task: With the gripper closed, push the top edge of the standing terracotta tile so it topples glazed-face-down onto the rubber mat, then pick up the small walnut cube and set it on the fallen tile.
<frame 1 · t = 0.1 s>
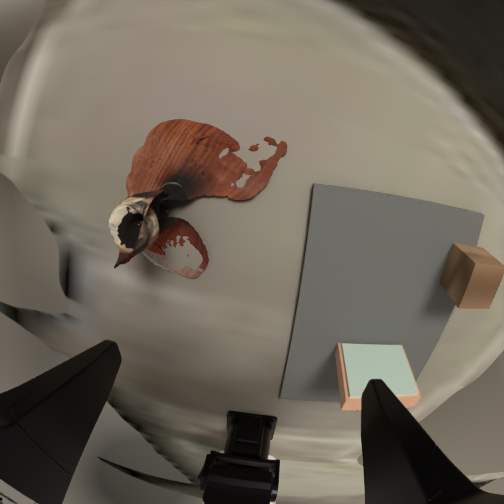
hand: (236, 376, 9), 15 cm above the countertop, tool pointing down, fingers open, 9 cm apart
mat: (377, 323, 24), on the countertop
tile: (369, 349, 25), resting on mat
figurine: (196, 198, 22), on the countertop
cube: (462, 265, 20), on the countertop, touching mat
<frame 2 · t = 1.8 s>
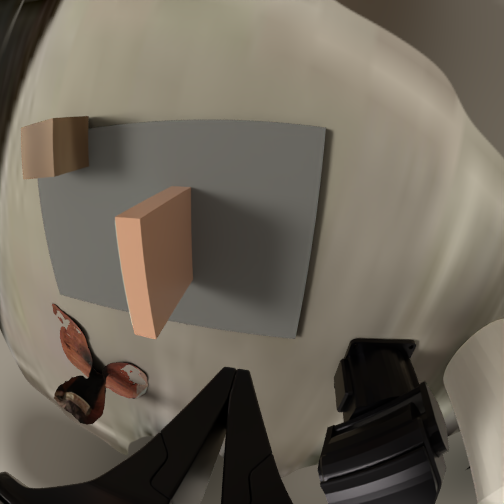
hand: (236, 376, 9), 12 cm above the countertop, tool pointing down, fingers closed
mat: (148, 229, 20), on the countertop
tile: (182, 235, 20), resting on mat
bottle: (482, 357, 22), on the countertop
figurine: (98, 354, 29), on the countertop
cube: (70, 143, 18), on the countertop, touching mat
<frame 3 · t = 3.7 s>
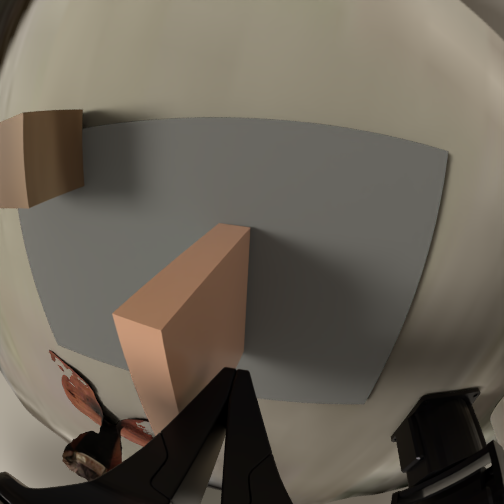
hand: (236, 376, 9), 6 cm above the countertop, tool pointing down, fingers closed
mat: (178, 281, 14), on the countertop
tile: (232, 295, 13), point 1 cm above the countertop, tilted 8°, touching mat
figurine: (108, 406, 23), on the countertop
cube: (57, 151, 12), on the countertop, touching mat
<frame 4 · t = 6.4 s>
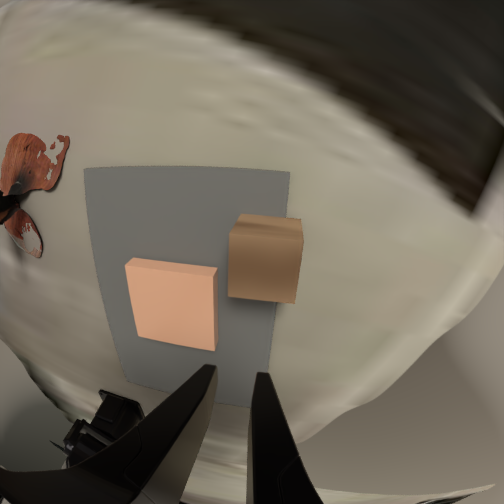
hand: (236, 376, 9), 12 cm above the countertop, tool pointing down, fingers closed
mat: (180, 309, 23), on the countertop
tile: (177, 338, 23), point 1 cm above the countertop, tilted 90°, touching mat
figurine: (32, 192, 21), on the countertop
cube: (268, 244, 19), on the countertop, touching mat
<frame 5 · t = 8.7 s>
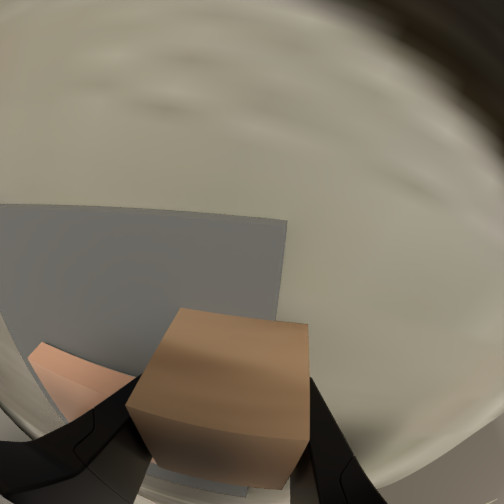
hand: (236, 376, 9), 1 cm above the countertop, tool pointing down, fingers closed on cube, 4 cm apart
mat: (121, 408, 13), on the countertop
tile: (122, 441, 13), point 1 cm above the countertop, tilted 90°, touching mat
bottle: (127, 492, 29), on the countertop
cube: (240, 361, 9), point 1 cm above the countertop, touching gripper, mat
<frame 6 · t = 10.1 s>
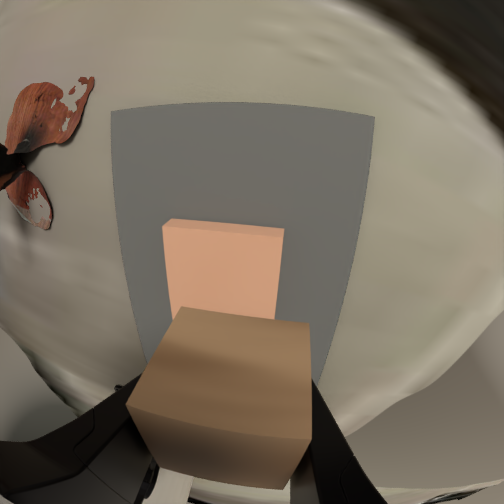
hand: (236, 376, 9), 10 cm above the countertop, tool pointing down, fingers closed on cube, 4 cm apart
mat: (227, 285, 20), on the countertop
tile: (223, 322, 19), point 1 cm above the countertop, tilted 90°, touching mat
bottle: (166, 449, 36), on the countertop
figurine: (42, 150, 18), on the countertop
cube: (241, 360, 9), point 10 cm above the countertop, touching gripper
when the fingers open (4 cm above the countertop, at t = 11.8 s): cube drops 2 cm, resting on tile.
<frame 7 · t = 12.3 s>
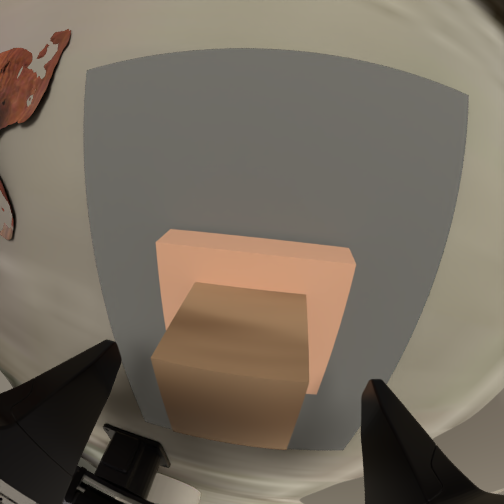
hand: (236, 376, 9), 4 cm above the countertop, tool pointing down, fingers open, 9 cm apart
mat: (252, 326, 13), on the countertop
tile: (245, 376, 13), point 1 cm above the countertop, tilted 90°, touching cube, mat
bottle: (164, 482, 29), on the countertop
figurine: (5, 136, 11), on the countertop
cube: (247, 331, 11), point 2 cm above the countertop, touching tile
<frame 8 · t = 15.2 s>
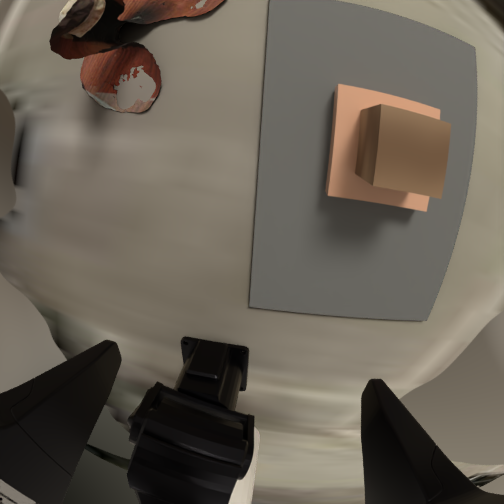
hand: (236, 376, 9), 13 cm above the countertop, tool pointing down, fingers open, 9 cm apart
mat: (376, 166, 17), on the countertop
tile: (377, 200, 17), point 1 cm above the countertop, tilted 90°, touching cube, mat
bottle: (219, 430, 33), on the countertop
figurine: (155, 29, 15), on the countertop
cube: (388, 147, 15), point 2 cm above the countertop, touching tile
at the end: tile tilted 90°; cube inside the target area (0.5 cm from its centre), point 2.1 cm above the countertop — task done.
